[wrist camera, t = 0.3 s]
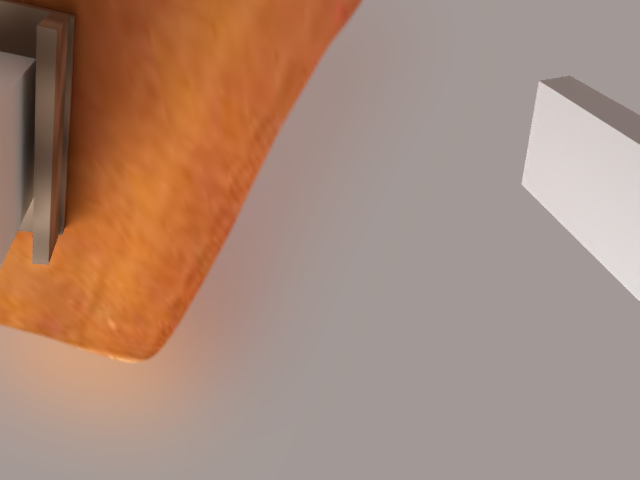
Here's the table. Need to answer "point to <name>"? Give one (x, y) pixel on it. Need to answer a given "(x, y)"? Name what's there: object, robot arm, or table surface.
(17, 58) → the tall board
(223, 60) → the table surface
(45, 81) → the offcut rack
